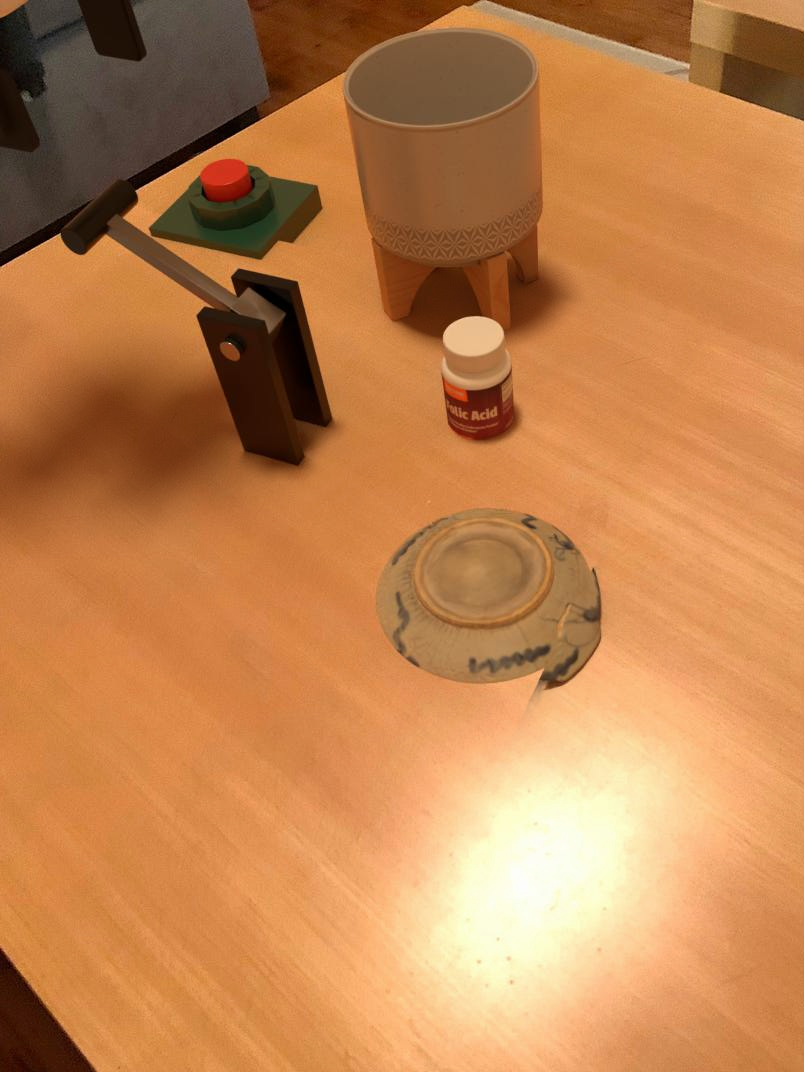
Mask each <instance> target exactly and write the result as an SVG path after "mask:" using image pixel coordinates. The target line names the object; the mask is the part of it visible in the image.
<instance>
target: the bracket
mask: <svg viewBox="0 0 804 1072" xmlns="http://www.w3.org/2000/svg"><path fill="white" fill-rule="evenodd" d="M230 280H231V283H232V286H233V290H234V293H235V295H236V296H237V297H240V296H241V295H242V294H243V293H244V291H245V290H246V289H247V288H248V287H249V288H250V289H252V290H253V291H255V292H256V293H258V294H259V295H261V296H262V297H263V298H265V299H266V300H268V301H269V302H271V303H272V304H274V305H275V306H277V307H278V308H279V309H281V310H282V311H284V312H285V313H286V316H285V318H284V321H283V324H282V326H281V329H280V332H279V334H278V336H277V338H276V339H275V340H274V341H273V343H271V339H270V336H269V332H268V329H267V326H266V322H265V320H261V319H257V318H252V317H248V316H244V315H240V314H236V313H231V312H227V311H223V310H219V309H215V308H213V307H211V306H210V307H209V306H206V305H205V306H203V307H202V308H201V309H200V310H199V312H198V313H196V314H195V315H196V316H195V317H196V320H197V322H198V324H199V325H198V326H199V328H200V331H201V334H202V336H203V339H204V342H205V345H206V347H207V350H208V353H209V357H210V358H211V361H212V364H213V368H214V370H215V373H216V376H217V379H218V381H219V385H220V387H221V390H222V393H223V396H224V398H225V402H226V404H227V406H228V409H229V412H230V415H231V417H232V420H233V423H234V426H235V429H236V432H237V434H238V438H239V440H240V443H241V445H242V448H243V451H244V452H245V453H251V454H253V455H257V456H261V457H265V458H267V459H271V460H275V461H279V462H281V463H285V464H288V465H292V466H295V467H299V466H300V465H301V463H302V461H303V460H304V459H305V458H306V455H305V451H304V449H303V446H302V445H303V444H302V441H301V439H300V434H299V431H298V429H297V425H296V421H300V422H303V423H307V424H311V425H315V426H318V427H322V428H327V427H328V426H329V424H330V423H331V422H332V420H333V414H332V411H331V407H330V403H329V398H328V395H327V391H326V388H325V383H324V379H323V375H322V372H321V368H320V363H319V359H318V355H317V352H316V348H315V344H314V339H313V336H312V332H311V328H310V325H309V324H310V323H309V320H308V315H307V312H306V308H305V304H304V300H303V296H302V292H301V288H300V284H299V280H294V279H290V278H285V277H280V276H276V275H271V274H266V273H262V272H258V271H254V270H249V269H245V268H239V267H238V268H237V269H236V270H235V271H234V272H233V274H232V275H231V276H230ZM295 420H296V421H295Z"/></svg>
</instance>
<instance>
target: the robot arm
mask: <svg viewBox="0 0 804 1072" xmlns="http://www.w3.org/2000/svg"><path fill="white" fill-rule="evenodd" d="M28 1H29V0H0V19H1V18H4V17H5V16H7V15H9V14H11V13H13V12H14V11H15V10H17V9H18V8H20V7H21V6H23V5H24V4H26V3H27V2H28ZM76 1H77V3H78V6H79V9H80V13H81V14H82V17H83V20H84V23H85V25H86V28H87V31H88V34H89V37H90V39H91V42H92V45H93V48H94V50H95V52H96V53H97V54H98V55H99V56H103V57H108V58H114V59H120V60H127V61H132V62H141V61H142V60H143V59H145V58H146V57H147V54H148V53H147V49H146V45H145V42H144V39H143V36H142V33H141V30H140V26H139V24H138V20H137V17H136V14H135V11H134V9H133V6H132V2H131V0H76ZM40 142H41V139H40V137H39V135H38V132H37V129H36V126H35V125H34V122H33V120H32V118H31V116H30V113H29V111H28V109H27V106H26V104H25V101H24V100H23V98H22V95H21V92H20V89H18V85H17V83H16V81H15V79H14V76H13V74H12V73H11V72H10V71H9V69H5V68H0V147H1V148H6V149H11V150H15V151H21V152H26V153H33V152H35V151H36V150H37V149H38V148H39V147H40V145H41V144H40Z"/></svg>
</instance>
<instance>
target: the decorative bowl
mask: <svg viewBox="0 0 804 1072" xmlns="http://www.w3.org/2000/svg"><path fill="white" fill-rule="evenodd" d="M600 594H601V590H600V583H599V579H598V575H597V572H596V570H595V568H594V566H592V569H590V566H589V564H588V561H587V560H586V558H585V556H584V555H583V553H582V551H581V550H580V548H579V547H578V546H577V545H576V543H575V542H574V541H573V540H572V539H571V538H570V537H569V536H568V535H567V534H565V533H564V532H563V531H562V530H560V529H559V528H557V527H556V526H554V525H553V524H552V523H549V522H547V520H544V519H542V518H539V517H537V516H534V515H531V514H528V513H525V512H521V511H517V510H510V509H505V508H504V509H503V508H487V507H486V508H473V509H467V510H461V511H457V512H454V513H451V514H448V515H445V516H443V517H440V518H437V519H435V520H434V521H432V522H431V524H428V525H426V526H424V527H422V528H420V529H418V530H416V531H415V532H414V533H412V534H411V536H409V537H408V538H407V539H405V541H404V542H402V543H401V545H400V546H399V547H398V548H396V550H395V551H394V552H393V554H392V555H391V556H390V558H389V559H388V561H387V562H386V564H385V566H384V567H383V570H382V571H381V573H380V575H379V578H378V581H377V585H376V591H375V607H376V608H375V610H376V611H375V612H376V617H377V620H378V623H379V625H380V628H381V630H382V631H383V633H384V636H385V637H386V638H387V640H388V641H389V643H390V644H391V645H392V647H393V648H394V649H395V650H396V652H398V654H400V656H402V657H403V658H404V659H405V660H406V661H408V662H409V663H411V664H412V665H414V666H415V667H416V668H418V669H420V670H422V671H424V672H426V673H427V674H430V675H432V676H435V677H438V678H441V679H444V680H447V681H448V680H449V681H452V682H456V683H463V684H473V685H474V684H475V685H485V684H497V683H504V682H509V681H514V680H518V679H521V678H525V677H527V676H530V675H533V674H535V673H537V672H539V671H542V670H543V671H542V673H541V674H540V677H539V680H538V681H540V680H541V681H547V682H557V683H558V682H559V683H563V682H567V681H568V680H569V679H570V678H572V676H574V675H575V674H576V673H577V672H578V671H579V670H580V669H581V668H583V666H584V665H585V664H586V662H587V661H589V658H590V657H591V656H592V654H593V652H594V651H595V650H596V649H597V646H598V644H599V642H600V640H601V636H602V629H601V623H600V610H601V595H600Z"/></svg>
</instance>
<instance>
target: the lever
mask: <svg viewBox="0 0 804 1072" xmlns="http://www.w3.org/2000/svg"><path fill="white" fill-rule="evenodd" d="M138 204H139V195H138V193H137V191H136V190H135V188H134V187H133V185H132V184H131V183H129V182H128V181H127V180H124V179H122V178H117V179H115V180H113V181H112V182H111V183H110V184H109V185H107V187H106V188H105V189H103V191H101V192H100V193H99V194H98V195H97V196H96V197H95V198H94V199H93V200H92V201H91V202H89V203H88V204H87V205H86V207H84V208H83V209H82V210H81V211H80V212H79V213H78V214H77V215H75V216H74V217H73V218H72V219H71V220H70V221H69V222H68V223H67V224H66V225H65V226H64V227H63V228H62V229H61V230H60V233H59V234H60V238H61V240H62V241H61V242H63V244H64V245H65V247H66V248H67V249H68V250H69V251H71V252H72V253H74V254H75V255H78V256H84V255H85V256H86V255H87V253H89V251H91V250H92V249H93V248H94V247H95V246H96V245H97V244H98V243H99V242H100V241H101V240H102V239H103V238H104V236H107V237H109V238H110V239H112V240H113V241H115V242H116V243H118V244H119V245H120V246H122V247H123V248H125V249H127V250H128V251H129V252H131V253H132V254H134V255H135V256H137V257H138V258H139V259H141V260H143V261H144V262H146V263H147V264H148V265H150V266H152V268H154V269H156V270H157V271H159V272H160V273H162V274H163V275H164V276H166V277H167V278H169V279H170V280H172V281H173V282H175V283H176V284H178V285H180V287H182V288H184V289H185V290H187V291H188V292H190V293H191V294H193V296H196V297H197V298H198V299H200V300H201V301H202V302H204V303H206V304H207V305H208V306H210V307H211V308H215V309H219V310H223V311H227V312H231V313H236V314H240V315H244V316H248V317H252V318H257V319H261V320H265V322H266V326H267V329H268V332H269V336H270V339H271V343H273V341H274V340H275V339H276V338H277V336H278V334H279V332H280V329H281V326H282V324H283V321H284V318H285V316H286V313H285V312H284V311H282V310H281V309H279V308H278V307H277V306H275V305H274V304H272V303H271V302H269V301H268V300H266V299H265V298H263V297H262V296H261V295H259V294H258V293H256V292H255V291H253V290H252V289H250V288H249V287H248V288H247V289H246V290H245V291H244V293H243V294H242V295H241V296H240V297H237V296H236V294H234V293H233V292H231V291H230V290H228V288H226V287H225V286H222V285H221V284H220V283H218V282H217V281H215V280H214V279H212V278H211V277H209V275H206V274H205V273H204V272H202V271H201V270H199V269H198V268H197V267H195V266H194V265H192V264H191V263H189V262H188V261H186V260H185V259H183V258H182V257H180V256H179V255H178V254H176V253H174V252H173V251H172V250H170V249H169V248H168V247H166V246H164V245H163V244H161V243H160V242H159V241H158V240H156V239H154V237H152V236H151V235H148V234H147V233H146V232H144V231H143V230H141V229H140V228H138V227H137V226H135V225H134V224H133V223H131V222H130V221H128V220H127V219H125V218H124V217H126V216H127V215H128V214H129V213H130V212H131V211H132V210H133V209H134V208H135V207H136V206H137V205H138Z"/></svg>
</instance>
